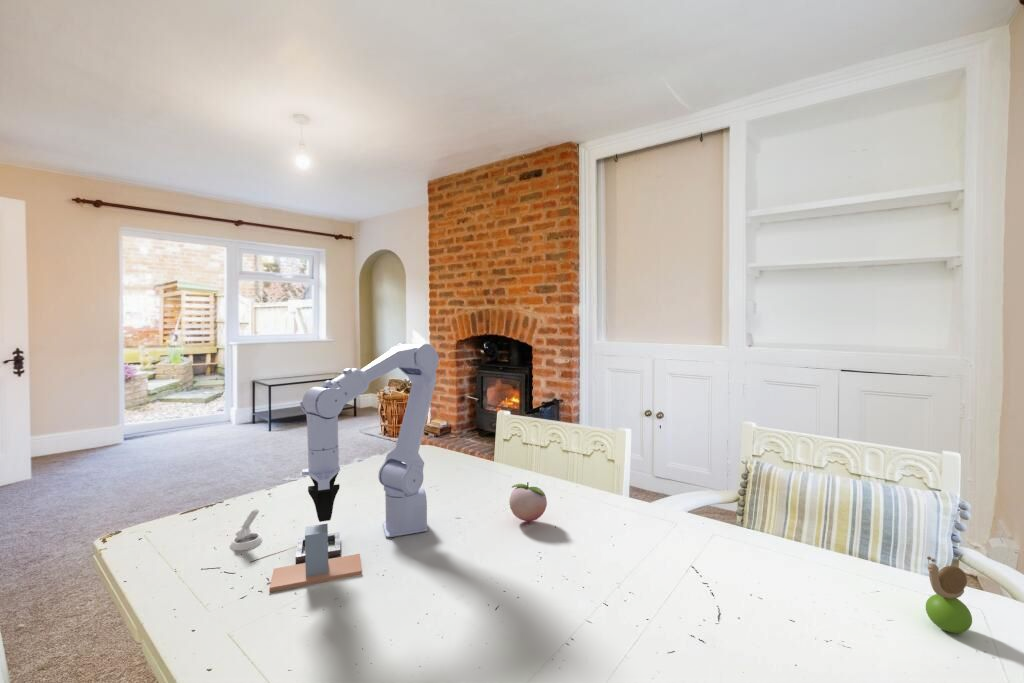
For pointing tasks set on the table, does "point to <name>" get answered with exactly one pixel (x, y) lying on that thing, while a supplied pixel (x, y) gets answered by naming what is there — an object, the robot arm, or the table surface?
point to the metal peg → (316, 549)
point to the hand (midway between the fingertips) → (324, 512)
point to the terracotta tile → (297, 575)
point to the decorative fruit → (527, 502)
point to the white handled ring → (246, 534)
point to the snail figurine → (948, 599)
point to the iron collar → (331, 552)
